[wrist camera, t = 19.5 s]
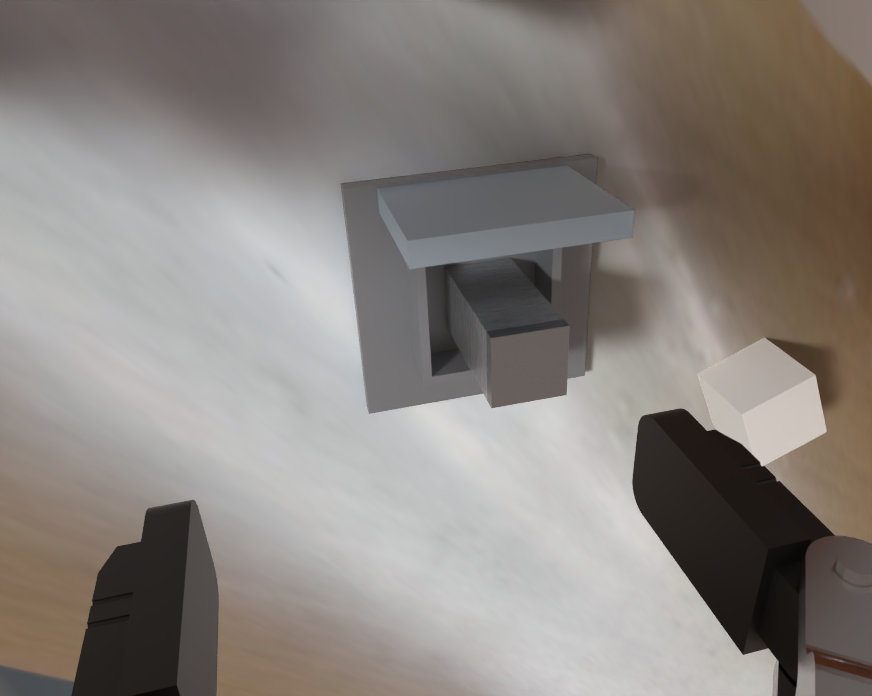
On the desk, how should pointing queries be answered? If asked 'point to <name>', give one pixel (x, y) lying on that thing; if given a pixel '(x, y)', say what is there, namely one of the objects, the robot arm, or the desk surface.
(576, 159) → the dock
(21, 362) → the desk surface
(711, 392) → the white cube
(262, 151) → the desk surface
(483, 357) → the tall gray block
